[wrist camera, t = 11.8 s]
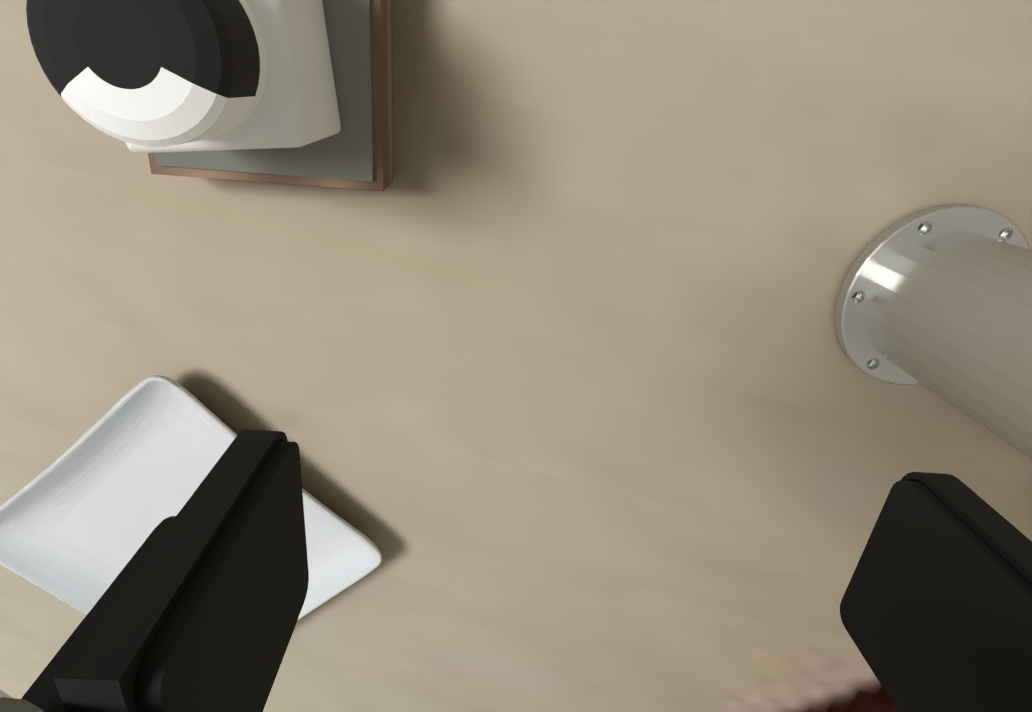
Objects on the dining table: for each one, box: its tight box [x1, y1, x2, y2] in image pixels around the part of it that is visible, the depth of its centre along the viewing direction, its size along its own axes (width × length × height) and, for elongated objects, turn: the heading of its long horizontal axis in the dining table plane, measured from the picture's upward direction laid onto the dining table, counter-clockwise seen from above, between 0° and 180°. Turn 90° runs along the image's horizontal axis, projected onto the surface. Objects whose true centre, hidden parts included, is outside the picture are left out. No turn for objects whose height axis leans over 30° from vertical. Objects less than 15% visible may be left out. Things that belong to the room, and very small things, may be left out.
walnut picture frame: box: [148, 0, 393, 191], centre depth 30 cm, size 12×12×4 cm
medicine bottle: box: [26, 0, 341, 153], centre depth 23 cm, size 7×7×12 cm
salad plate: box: [0, 376, 382, 621], centre depth 44 cm, size 21×21×3 cm
